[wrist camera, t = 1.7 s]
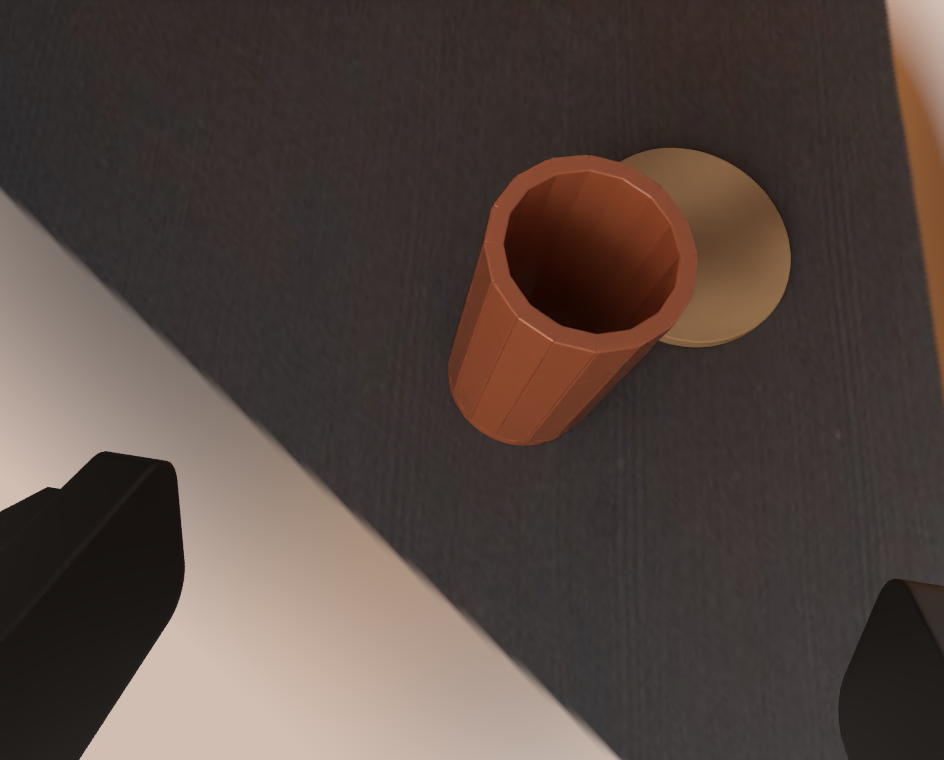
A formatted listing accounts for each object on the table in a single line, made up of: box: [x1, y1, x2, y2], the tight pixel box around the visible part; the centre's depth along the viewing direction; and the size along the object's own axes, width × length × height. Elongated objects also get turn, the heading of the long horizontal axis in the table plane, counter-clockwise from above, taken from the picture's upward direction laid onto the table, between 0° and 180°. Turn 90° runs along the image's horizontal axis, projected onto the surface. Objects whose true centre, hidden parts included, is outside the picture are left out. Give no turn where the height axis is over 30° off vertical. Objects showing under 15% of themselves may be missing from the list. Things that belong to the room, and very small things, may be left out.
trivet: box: [621, 148, 791, 347], centre depth 32 cm, size 8×8×1 cm
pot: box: [448, 155, 698, 446], centre depth 25 cm, size 5×5×10 cm
